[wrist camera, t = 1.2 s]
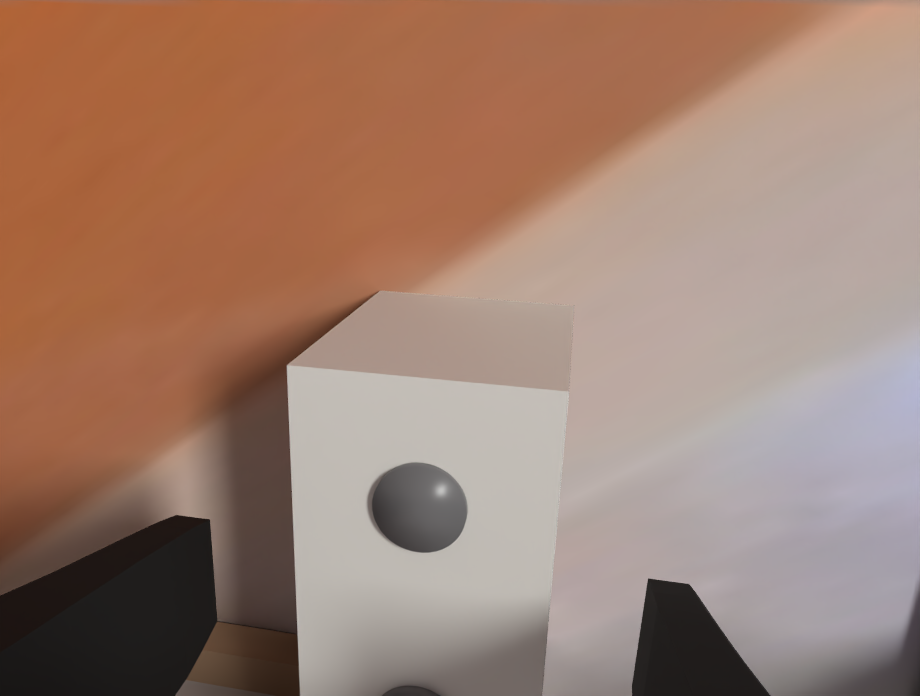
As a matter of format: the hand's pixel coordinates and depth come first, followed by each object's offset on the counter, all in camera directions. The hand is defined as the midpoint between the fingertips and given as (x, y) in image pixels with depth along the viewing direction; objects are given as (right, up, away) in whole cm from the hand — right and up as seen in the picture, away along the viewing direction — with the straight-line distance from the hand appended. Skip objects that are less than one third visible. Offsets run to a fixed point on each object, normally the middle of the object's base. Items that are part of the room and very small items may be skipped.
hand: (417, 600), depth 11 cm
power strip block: (+1, +1, +4) cm, 5 cm away
